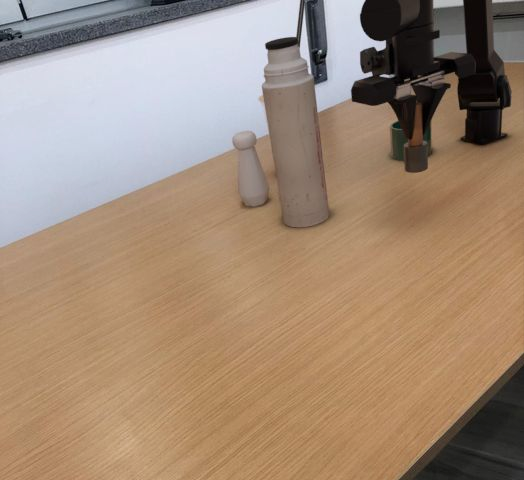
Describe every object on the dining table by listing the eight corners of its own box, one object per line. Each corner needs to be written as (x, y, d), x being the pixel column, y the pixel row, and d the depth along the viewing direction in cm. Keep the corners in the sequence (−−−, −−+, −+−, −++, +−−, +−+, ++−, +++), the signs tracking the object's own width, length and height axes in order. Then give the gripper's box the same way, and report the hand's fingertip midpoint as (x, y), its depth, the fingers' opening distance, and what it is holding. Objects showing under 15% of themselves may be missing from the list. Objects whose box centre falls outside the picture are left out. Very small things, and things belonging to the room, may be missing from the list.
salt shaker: (258, 210, 110) (245, 138, 103) (234, 207, 114) (220, 137, 106) (276, 197, 114) (265, 127, 106) (253, 195, 117) (240, 127, 110)
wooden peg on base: (418, 163, 98) (416, 99, 92) (432, 167, 95) (431, 102, 89) (400, 169, 97) (397, 105, 91) (414, 174, 94) (412, 108, 88)
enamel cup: (414, 144, 125) (413, 115, 122) (439, 152, 119) (439, 121, 116) (383, 155, 123) (382, 125, 119) (407, 163, 117) (406, 132, 113)
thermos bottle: (331, 206, 106) (312, 30, 90) (326, 225, 99) (304, 39, 84) (287, 210, 108) (260, 38, 92) (279, 229, 101) (249, 48, 86)
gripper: (428, 10, 93) (429, 113, 102) (326, 38, 88) (336, 144, 97) (479, 10, 85) (476, 123, 93) (370, 41, 79) (377, 158, 88)
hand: (415, 137), depth 93 cm, fingers closed on wooden peg on base, 2 cm apart
